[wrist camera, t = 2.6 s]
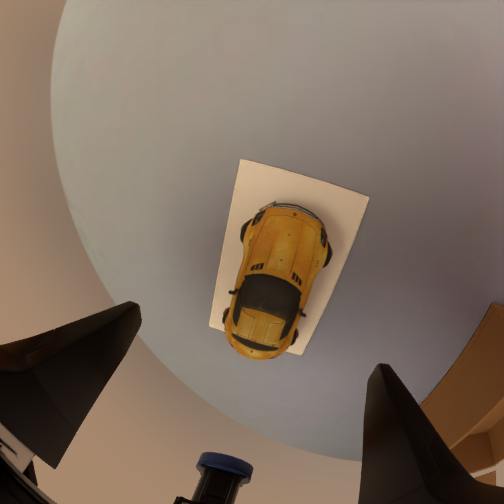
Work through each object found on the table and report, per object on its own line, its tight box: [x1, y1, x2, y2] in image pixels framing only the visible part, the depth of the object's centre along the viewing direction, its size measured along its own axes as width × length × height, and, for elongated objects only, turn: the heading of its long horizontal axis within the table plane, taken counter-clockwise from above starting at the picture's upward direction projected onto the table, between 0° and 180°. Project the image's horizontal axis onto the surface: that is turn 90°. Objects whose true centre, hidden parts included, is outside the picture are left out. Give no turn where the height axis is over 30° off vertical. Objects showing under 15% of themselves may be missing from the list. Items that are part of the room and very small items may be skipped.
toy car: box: [209, 159, 370, 360], centre depth 12 cm, size 4×8×2 cm, turn 167°
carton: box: [420, 303, 504, 474], centre depth 11 cm, size 16×15×6 cm
